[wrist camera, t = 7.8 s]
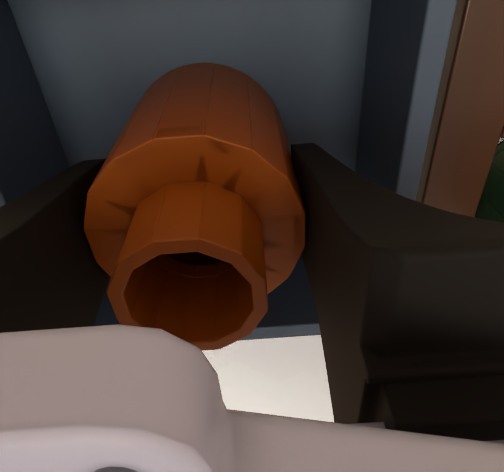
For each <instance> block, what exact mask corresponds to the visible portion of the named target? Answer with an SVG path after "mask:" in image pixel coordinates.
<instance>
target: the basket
mask: <svg viewBox="0 0 504 472" xmlns="http://www.w3.org/2000/svg"><path fill="white" fill-rule="evenodd" d="M456 3H457V0H0V207H1V206H3V205H5V204H7V203H9V202H11V201H12V200H14V199H16V198H18V197H20V196H21V195H23V194H25V193H27V192H29V191H30V190H32V189H34V188H35V187H37V186H39V185H40V184H42V183H44V182H45V181H47V180H49V179H50V178H52V177H54V176H56V175H57V174H59V173H61V172H62V171H64V170H66V169H68V168H69V167H71V166H73V165H75V164H77V163H79V162H82V161H85V160H94V159H106V158H107V157H108V155H109V153H110V151H111V149H112V148H113V146H114V144H115V142H116V141H117V139H118V137H119V135H120V133H121V132H122V130H123V128H124V126H125V125H126V123H127V121H128V119H129V118H130V116H131V114H132V112H133V110H134V109H135V107H136V106H137V104H138V103H139V101H140V100H141V99H142V97H143V95H144V94H145V92H146V91H147V90H148V88H149V87H150V86H151V84H153V83H154V82H155V81H156V80H157V79H158V78H160V77H161V76H163V75H164V74H166V73H167V72H169V71H171V70H173V69H176V68H178V67H181V66H185V65H188V64H195V63H214V64H221V65H225V66H228V67H232V68H234V69H236V70H239V71H241V72H243V73H244V74H246V75H248V76H250V77H251V78H252V79H254V80H255V81H256V82H257V83H259V84H260V85H261V86H262V87H263V89H264V90H265V91H266V92H267V93H268V95H269V96H270V97H271V99H272V100H273V102H274V104H275V106H276V108H277V110H278V113H279V115H280V118H281V120H282V123H283V125H284V129H285V133H286V137H287V141H288V145H289V149H290V153H291V144H304V143H315V144H316V145H318V146H319V147H321V148H322V149H323V150H325V151H326V152H327V153H329V154H330V155H331V156H333V157H334V158H335V159H337V160H338V161H340V162H341V163H343V164H344V165H345V166H347V167H348V168H350V169H352V170H353V171H355V172H356V173H358V174H359V175H361V176H363V177H365V178H366V179H368V180H370V181H372V182H373V183H375V184H377V185H379V186H381V187H383V188H385V189H388V190H390V191H392V192H394V193H397V194H399V195H401V196H404V197H406V198H409V199H411V200H414V201H415V200H416V195H417V191H418V186H419V181H420V176H421V171H422V167H423V162H424V157H425V152H426V147H427V142H428V138H429V133H430V128H431V123H432V118H433V114H434V109H435V104H436V99H437V94H438V89H439V85H440V80H441V75H442V70H443V65H444V61H445V56H446V51H447V46H448V41H449V36H450V32H451V27H452V22H453V17H454V12H455V8H456ZM110 279H111V277H110ZM109 282H110V280H109ZM108 285H109V283H108ZM108 285H107V288H108ZM107 288H106V291H105V294H104V296H103V299H102V302H101V304H100V307H99V310H98V313H97V316H96V320H95V323H94V326H103V325H117V324H118V325H122V324H121V323H119V321H118V320H117V318H116V316H115V313H114V310H113V308H112V305H111V303H110V300H109V298H108V295H107ZM308 335H321V332H320V327H319V321H318V315H317V309H316V305H315V301H314V297H313V293H312V289H311V286H310V283H309V279H308V276H307V272H306V269H305V266H304V262H303V259H302V255H300V257H299V259H298V261H297V263H296V265H295V267H294V269H293V271H292V272H291V274H290V276H289V277H288V278H287V279H286V280H285V281H284V282H282V283H281V284H280V285H279V286H277V287H276V288H275V289H274V290H272V291H271V292H270V293H269V294H268V311H267V313H266V314H265V315H264V317H263V318H262V319H261V321H260V322H259V323H258V325H257V326H256V328H255V329H254V330H253V332H252V333H251V334H250V335H249V336H246V337H244V338H242V339H240V340H250V339H265V338H279V337H294V336H308Z"/></svg>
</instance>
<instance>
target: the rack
mask: <svg viewBox="0 0 504 472" xmlns="http://www.w3.org/2000/svg"><path fill="white" fill-rule="evenodd" d="M500 137H501V138H504V0H457V3H456V8H455V12H454V17H453V22H452V27H451V32H450V36H449V41H448V46H447V51H446V56H445V61H444V65H443V70H442V75H441V80H440V85H439V89H438V94H437V99H436V104H435V109H434V114H433V118H432V123H431V128H430V133H429V138H428V142H427V147H426V152H425V157H424V162H423V167H422V171H421V176H420V181H419V186H418V191H417V195H416V200H415V201H417V202H420V203H423V204H426V205H429V206H432V207H435V208H439V209H442V210H446V211H449V212H453V213H457V214H461V215H466V216H470V217H475V214H476V211H477V208H478V205H479V202H480V198H481V195H482V192H483V189H484V186H485V183H486V180H487V177H488V173H489V170H490V167H491V164H492V161H493V158H494V155H495V152H496V148H497V145H498V142H499V139H500Z"/></svg>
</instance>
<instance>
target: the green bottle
mask: <svg viewBox="0 0 504 472" xmlns="http://www.w3.org/2000/svg"><path fill="white" fill-rule="evenodd" d="M475 218H479V219H484V220H489V221H495V222H502V223H504V141H503V142H502V143H500V144H499V145H498V146H497V148H496V152H495V155H494V158H493V161H492V164H491V167H490V170H489V173H488V177H487V180H486V183H485V186H484V189H483V192H482V195H481V198H480V202H479V205H478V208H477V211H476V214H475Z"/></svg>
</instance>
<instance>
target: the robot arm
mask: <svg viewBox="0 0 504 472" xmlns="http://www.w3.org/2000/svg"><path fill="white" fill-rule="evenodd" d="M291 159H292V163H293V167H294V171H295V175H296V178H297V181H298V185H299V189H300V193H301V197H302V201H303V205H304V209H305V213H306V215H305V247H304V250H303V252H302V253H301V255H302V259H303V262H304V266H305V269H306V272H307V276H308V279H309V283H310V286H311V289H312V293H313V297H314V301H315V305H316V309H317V315H318V321H319V327H320V332H321V338H322V344H323V350H324V357H325V363H326V369H327V375H328V382H329V388H330V395H331V402H332V408H333V415H334V422H335V423H333V422H325V421H317V420H309V419H301V418H293V417H285V416H277V415H269V414H261V413H253V412H245V411H237V410H229V409H226V407H225V405H224V402H223V400H222V395H221V390H220V385H219V380H218V375H217V373H216V371H215V370H214V368H213V367H212V366H211V364H210V363H209V361H208V360H207V358H206V357H205V355H204V354H203V352H202V351H201V349H199V348H198V347H196V346H195V345H193V344H191V343H189V342H187V341H184V340H182V339H180V338H178V337H176V336H174V335H172V334H170V333H168V332H166V331H164V330H162V329H158V328H148V327H138V326H128V325H118V324H117V325H103V326H94V323H95V320H96V316H97V313H98V310H99V307H100V304H101V302H102V299H103V296H104V294H105V291H106V288H107V285H108V283H109V280H110V276H109V275H108V274H107V273H106V272H105V271H104V270H103V269H102V268H101V267H100V265H99V264H98V263H97V262H96V260H95V257H94V255H93V252H92V250H91V247H90V244H89V242H88V239H87V237H86V234H85V232H84V218H85V209H86V200H87V193H88V190H89V188H90V187H91V185H92V183H93V181H94V180H95V178H96V176H97V174H98V173H99V171H100V169H101V167H102V165H103V164H104V162H105V160H106V159H94V160H85V161H82V162H79V163H77V164H75V165H73V166H71V167H69V168H68V169H66V170H64V171H62V172H61V173H59V174H57V175H56V176H54V177H52V178H50V179H49V180H47V181H45V182H44V183H42V184H40V185H39V186H37V187H35V188H34V189H32V190H30V191H29V192H27V193H25V194H23V195H21V196H20V197H18V198H16V199H14V200H12V201H11V202H9V203H7V204H5V205H3V206H1V207H0V472H504V223H502V222H495V221H489V220H484V219H479V218H475V217H470V216H466V215H461V214H457V213H453V212H449V211H446V210H442V209H439V208H435V207H432V206H429V205H426V204H423V203H420V202H417V201H414V200H411V199H409V198H406V197H404V196H401V195H399V194H397V193H394V192H392V191H390V190H388V189H385V188H383V187H381V186H379V185H377V184H375V183H373V182H372V181H370V180H368V179H366V178H365V177H363V176H361V175H359V174H358V173H356V172H355V171H353V170H352V169H350V168H348V167H347V166H345V165H344V164H343V163H341V162H340V161H338V160H337V159H335V158H334V157H333V156H331V155H330V154H329V153H327V152H326V151H325V150H323V149H322V148H321V147H319V146H318V145H316V144H315V143H304V144H291Z"/></svg>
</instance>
